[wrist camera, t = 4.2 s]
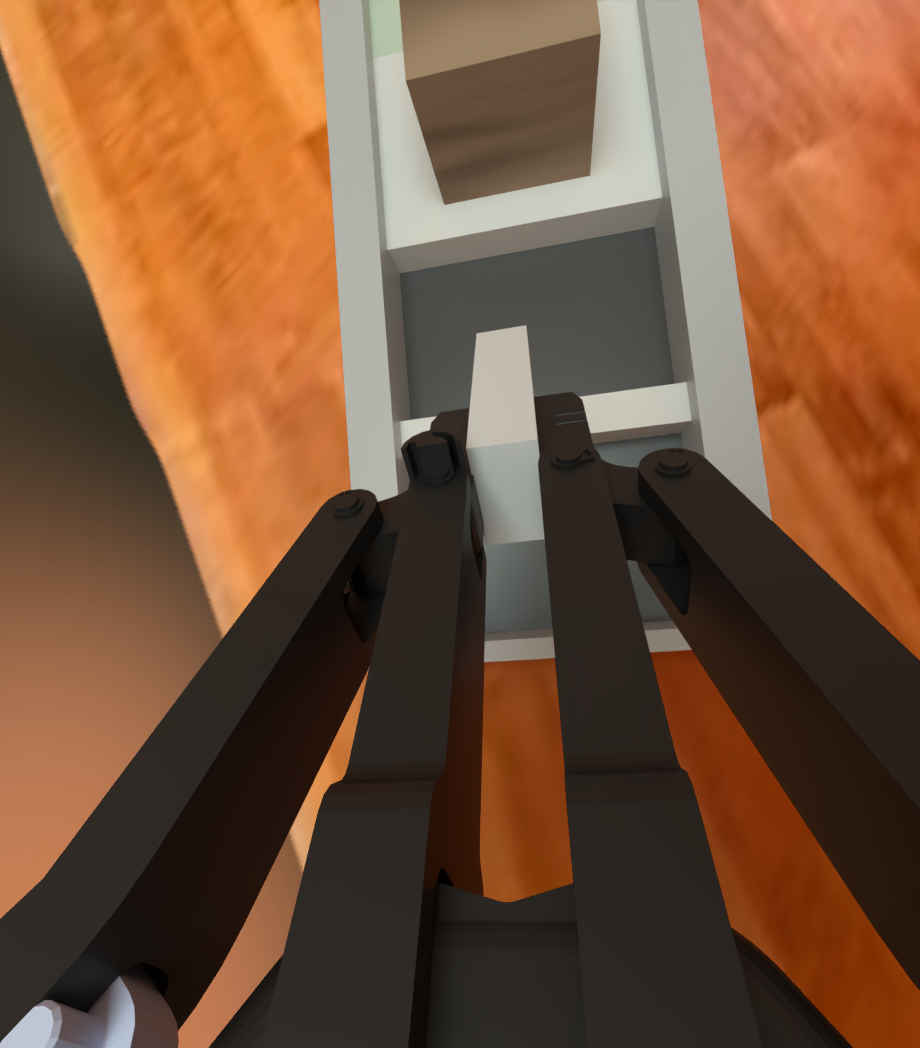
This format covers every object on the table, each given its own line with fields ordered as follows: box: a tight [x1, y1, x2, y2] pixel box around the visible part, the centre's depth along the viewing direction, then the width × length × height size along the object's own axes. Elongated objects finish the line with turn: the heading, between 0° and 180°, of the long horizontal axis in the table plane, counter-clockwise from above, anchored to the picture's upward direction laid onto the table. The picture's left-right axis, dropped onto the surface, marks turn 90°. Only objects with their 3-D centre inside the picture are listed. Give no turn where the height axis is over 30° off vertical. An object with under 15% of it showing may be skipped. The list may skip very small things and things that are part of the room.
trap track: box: [319, 0, 772, 662], centre depth 30 cm, size 50×20×7 cm, turn 5°
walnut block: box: [399, 0, 601, 205], centre depth 27 cm, size 8×8×8 cm
